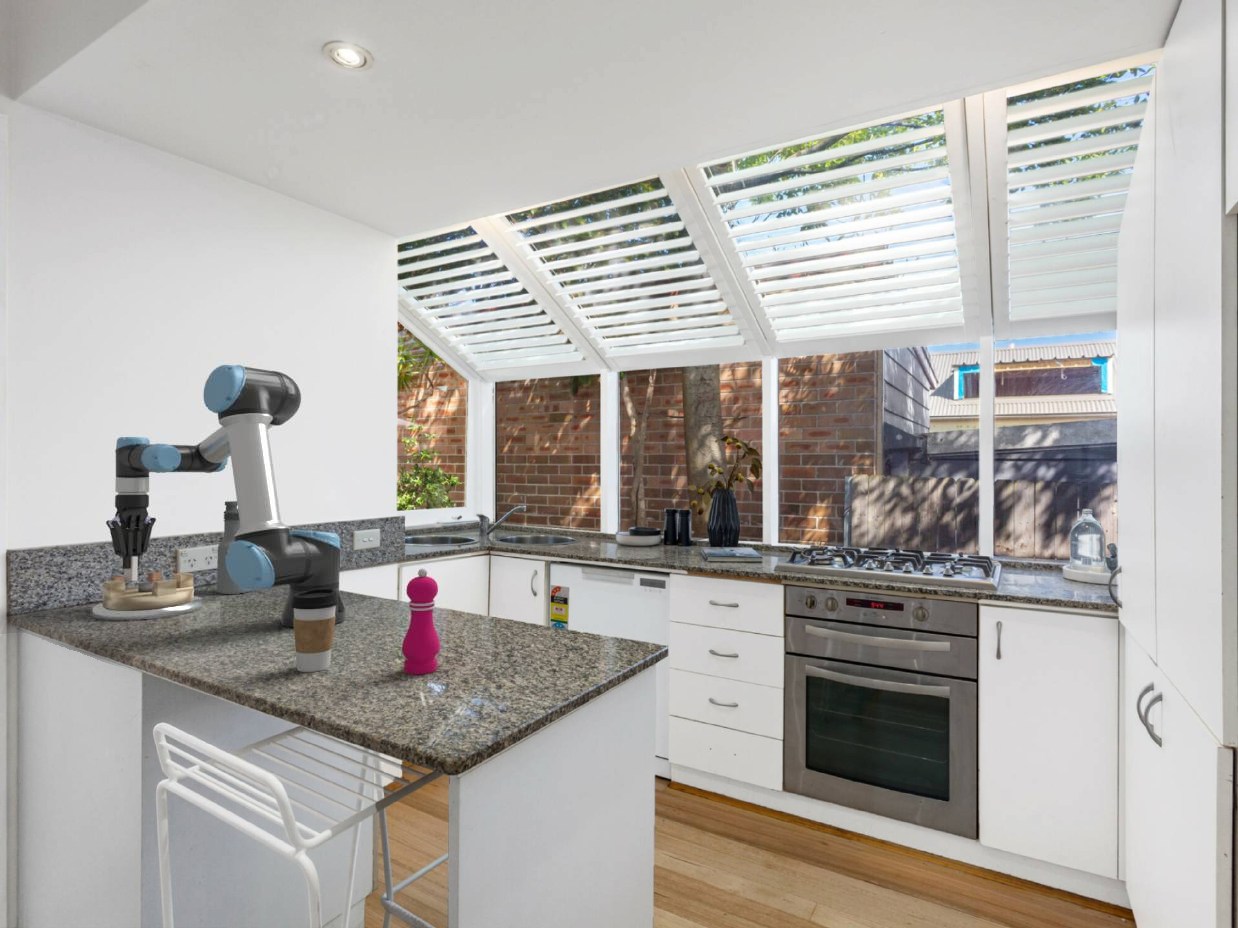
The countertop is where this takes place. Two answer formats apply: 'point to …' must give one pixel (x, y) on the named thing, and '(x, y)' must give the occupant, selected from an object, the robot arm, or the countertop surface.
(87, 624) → the countertop surface
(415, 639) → the pepper mill
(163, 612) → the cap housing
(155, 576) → the ring nut
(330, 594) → the coffee cup
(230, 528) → the water bottle
